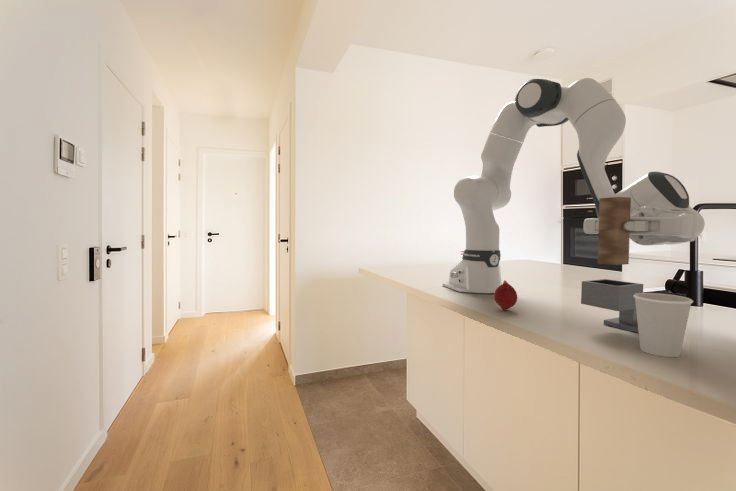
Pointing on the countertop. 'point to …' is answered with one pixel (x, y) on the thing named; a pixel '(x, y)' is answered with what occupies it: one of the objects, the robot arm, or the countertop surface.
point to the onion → (505, 296)
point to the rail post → (613, 230)
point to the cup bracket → (613, 300)
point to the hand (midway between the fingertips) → (611, 226)
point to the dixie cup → (662, 322)
